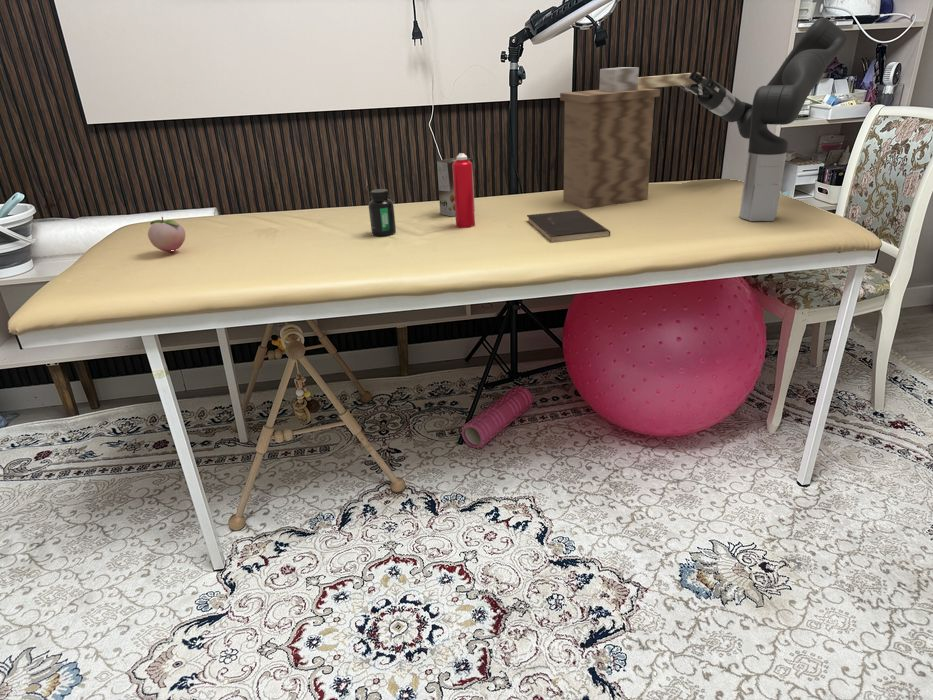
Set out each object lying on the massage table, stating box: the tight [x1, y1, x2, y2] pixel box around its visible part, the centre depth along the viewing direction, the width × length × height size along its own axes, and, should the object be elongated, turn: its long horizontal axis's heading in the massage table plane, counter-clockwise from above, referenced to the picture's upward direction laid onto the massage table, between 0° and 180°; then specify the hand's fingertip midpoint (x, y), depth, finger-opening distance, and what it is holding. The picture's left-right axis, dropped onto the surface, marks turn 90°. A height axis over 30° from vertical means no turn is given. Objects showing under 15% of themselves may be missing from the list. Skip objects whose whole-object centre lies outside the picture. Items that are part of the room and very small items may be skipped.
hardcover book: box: [526, 209, 611, 243], centre depth 172 cm, size 16×23×2 cm
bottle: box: [452, 152, 476, 229], centre depth 177 cm, size 5×5×20 cm
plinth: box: [559, 88, 661, 210], centre depth 193 cm, size 24×16×32 cm, turn 111°
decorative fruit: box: [147, 216, 186, 254], centre depth 169 cm, size 9×8×10 cm
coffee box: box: [436, 157, 476, 218], centre depth 192 cm, size 9×6×16 cm
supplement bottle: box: [368, 188, 397, 238], centre depth 175 cm, size 7×7×12 cm
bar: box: [598, 66, 702, 92], centre depth 189 cm, size 32×8×6 cm, turn 111°
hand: (682, 74), depth 192 cm, fingers open, 8 cm apart
